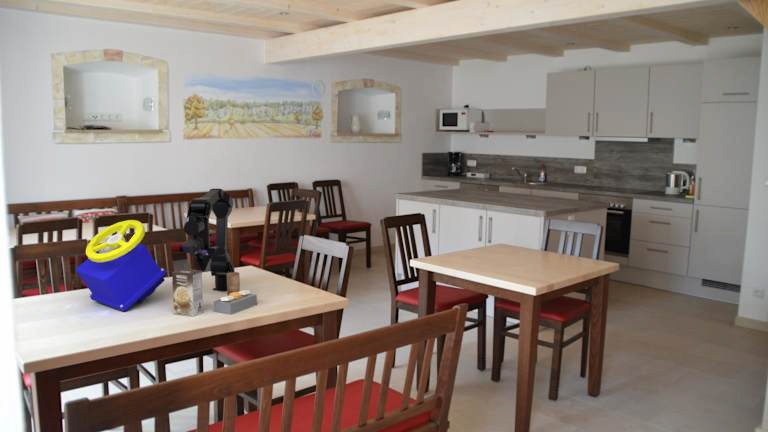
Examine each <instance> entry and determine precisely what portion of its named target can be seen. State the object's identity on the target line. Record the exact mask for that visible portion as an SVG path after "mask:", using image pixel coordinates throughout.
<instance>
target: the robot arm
mask: <svg viewBox="0 0 768 432" xmlns="http://www.w3.org/2000/svg"><path fill="white" fill-rule="evenodd" d="M233 207H234V200H233V198H232V196H231V195H230V194H228V193H227V192H225V191H224V190H223V189H222V188H210V189H209V191H208V192H206V193H205V194H204V195H203V196H201V197H196V198H192V200H191V201H190V202H189V205H188V210H187V213H186V219H188V221H186V222H185V223H184V225H183V230H184V232H185V234H186V235H187V236H190V239H189V240H187V241H186V242H185V243H183V244H180V246H179V252H180V253H184V254H190V256H193V257H194V258H195V260H196V261H197V264H198V266H199V268H200V271H202V272H205V271H206V269H207V267H208V264H209V269H210V273H211V277H214V287H213V288H212V290H213V291H219V292H226V291H227V273H230V272H236V271H235V270H236V269H235V267H234V265H233V263H232V257H231V256H230V254H229V253H228V225H229V224H228V222H229V221H228V220H229V219H228V218H229V216H230V215H231V213H232V211H233ZM211 212H212V213H213V214H214V215H215V217H216V218H215V220H216V221H215V222H216V223H215V246H213V243H211V242H210V241H211V240H210V239H211V237H212V236H213V235H212V233H210V218H211V217H210V216H211ZM209 262H210V263H209Z"/></svg>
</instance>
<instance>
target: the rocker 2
mask: <svg viewBox="0 0 768 432" xmlns="http://www.w3.org/2000/svg"><path fill="white" fill-rule="evenodd" d="M237 293H240V294H242V295H246V294H251V291H250V289H247V290H246V289H245V290H240V291H239V292H237Z"/></svg>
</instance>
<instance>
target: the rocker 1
mask: <svg viewBox="0 0 768 432" xmlns="http://www.w3.org/2000/svg"><path fill="white" fill-rule="evenodd" d="M220 299H221V301H229V300H232V299H234V296H227V295H225V296H222V297H220Z"/></svg>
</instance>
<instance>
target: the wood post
mask: <svg viewBox="0 0 768 432" xmlns="http://www.w3.org/2000/svg"><path fill="white" fill-rule="evenodd" d="M240 280H241V279H240V272H238V271H235V272H230V273H227V294H226V296H229V294H230V293H233V292H239V291H241V287H240V286H241V283H240V282H241V281H240Z"/></svg>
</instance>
